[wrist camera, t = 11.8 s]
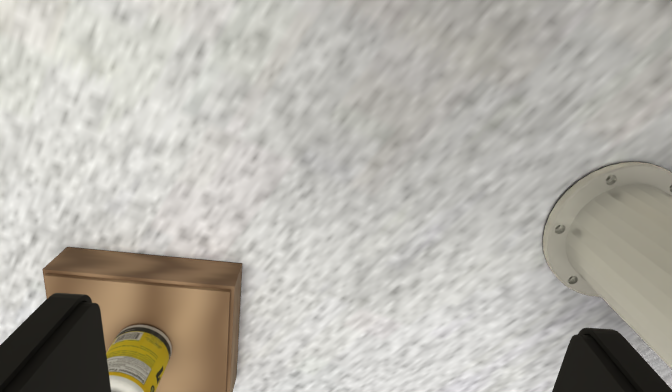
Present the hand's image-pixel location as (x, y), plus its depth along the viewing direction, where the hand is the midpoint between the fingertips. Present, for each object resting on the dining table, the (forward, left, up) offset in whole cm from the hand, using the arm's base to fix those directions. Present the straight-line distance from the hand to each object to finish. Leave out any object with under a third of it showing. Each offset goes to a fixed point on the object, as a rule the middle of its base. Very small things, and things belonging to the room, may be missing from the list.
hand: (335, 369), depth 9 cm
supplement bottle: (+13, +21, -24) cm, 34 cm away
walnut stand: (+13, +21, -27) cm, 37 cm away
